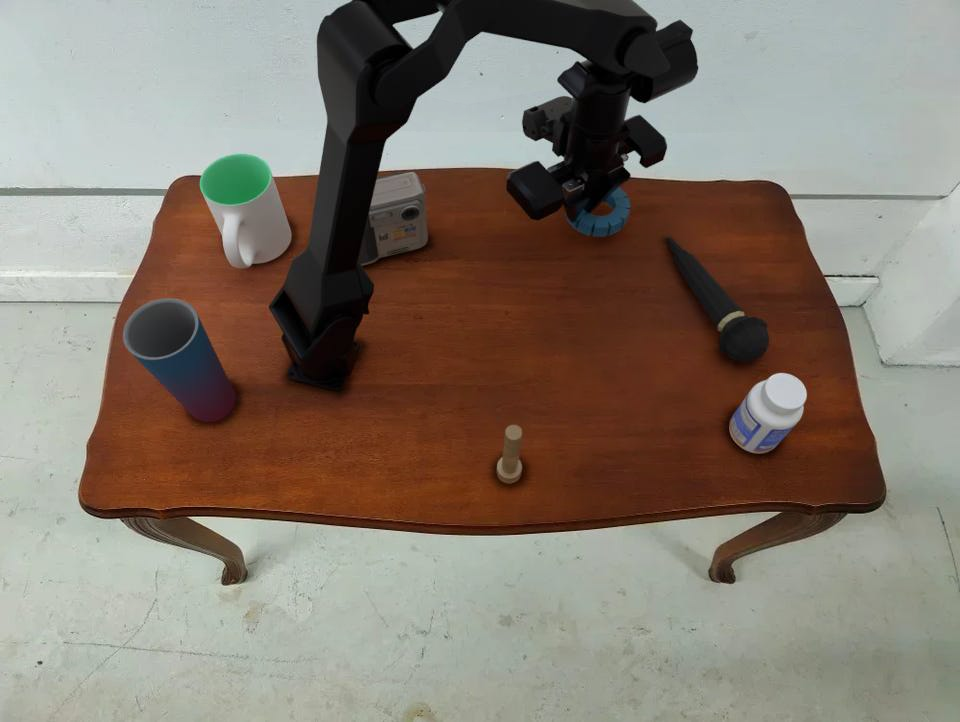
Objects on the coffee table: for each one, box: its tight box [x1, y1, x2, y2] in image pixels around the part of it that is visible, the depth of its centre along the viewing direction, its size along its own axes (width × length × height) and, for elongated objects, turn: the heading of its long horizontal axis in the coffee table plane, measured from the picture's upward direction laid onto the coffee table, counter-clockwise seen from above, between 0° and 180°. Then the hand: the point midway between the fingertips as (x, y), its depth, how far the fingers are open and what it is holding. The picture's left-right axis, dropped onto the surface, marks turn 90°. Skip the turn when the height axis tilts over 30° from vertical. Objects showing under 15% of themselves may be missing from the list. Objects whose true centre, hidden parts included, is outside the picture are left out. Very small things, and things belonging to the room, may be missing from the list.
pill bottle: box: [728, 372, 808, 455], centre depth 73 cm, size 5×5×10 cm
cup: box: [122, 297, 237, 423], centre depth 71 cm, size 7×7×15 cm
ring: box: [564, 186, 631, 238], centre depth 88 cm, size 8×8×2 cm
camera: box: [358, 171, 429, 267], centre depth 85 cm, size 11×6×10 cm, turn 106°
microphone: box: [665, 237, 770, 363], centre depth 84 cm, size 6×6×20 cm
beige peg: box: [496, 424, 523, 484], centre depth 70 cm, size 3×3×10 cm
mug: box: [199, 153, 292, 269], centre depth 84 cm, size 12×8×10 cm
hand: (578, 216), depth 87 cm, fingers closed on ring, 2 cm apart
